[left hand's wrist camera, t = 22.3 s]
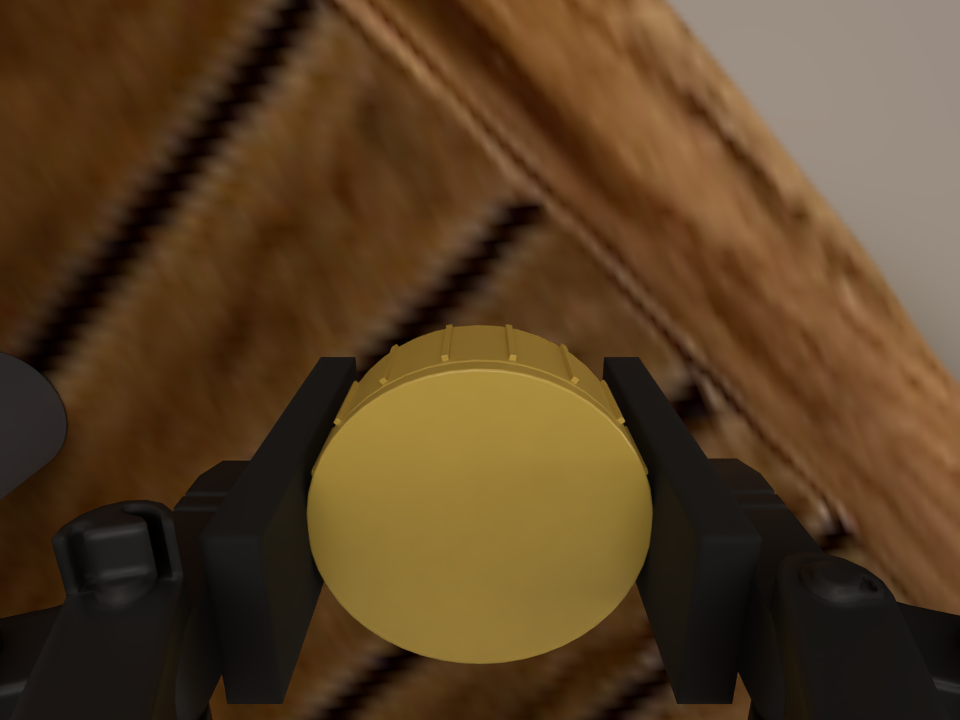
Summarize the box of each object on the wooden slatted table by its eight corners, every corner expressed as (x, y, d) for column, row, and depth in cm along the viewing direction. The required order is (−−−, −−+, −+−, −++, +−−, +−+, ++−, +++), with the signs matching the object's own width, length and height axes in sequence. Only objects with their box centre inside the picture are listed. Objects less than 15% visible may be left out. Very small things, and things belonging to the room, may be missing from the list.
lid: (592, 281, 11) (618, 318, 9) (653, 546, 13) (687, 627, 11) (287, 367, 11) (245, 421, 9) (389, 609, 13) (372, 697, 11)
